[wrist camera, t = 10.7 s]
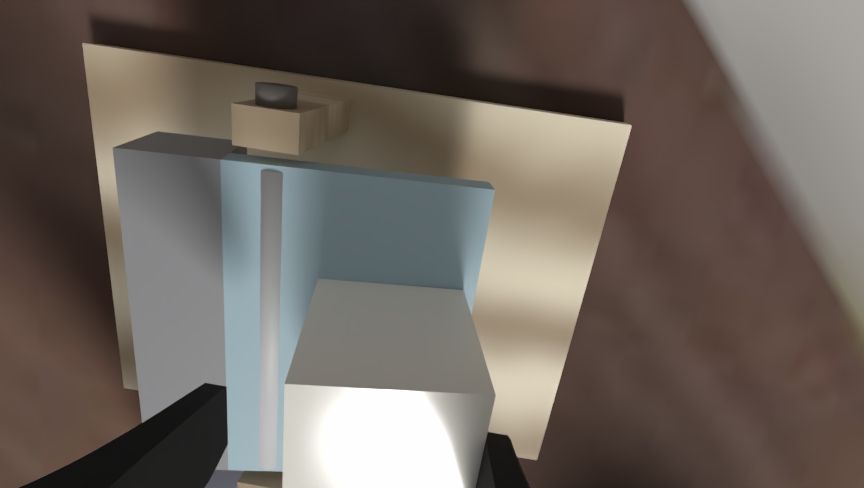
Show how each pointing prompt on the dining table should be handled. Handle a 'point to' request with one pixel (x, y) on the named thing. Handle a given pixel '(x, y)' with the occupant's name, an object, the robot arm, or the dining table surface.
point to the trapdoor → (268, 264)
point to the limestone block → (386, 390)
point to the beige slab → (402, 152)
